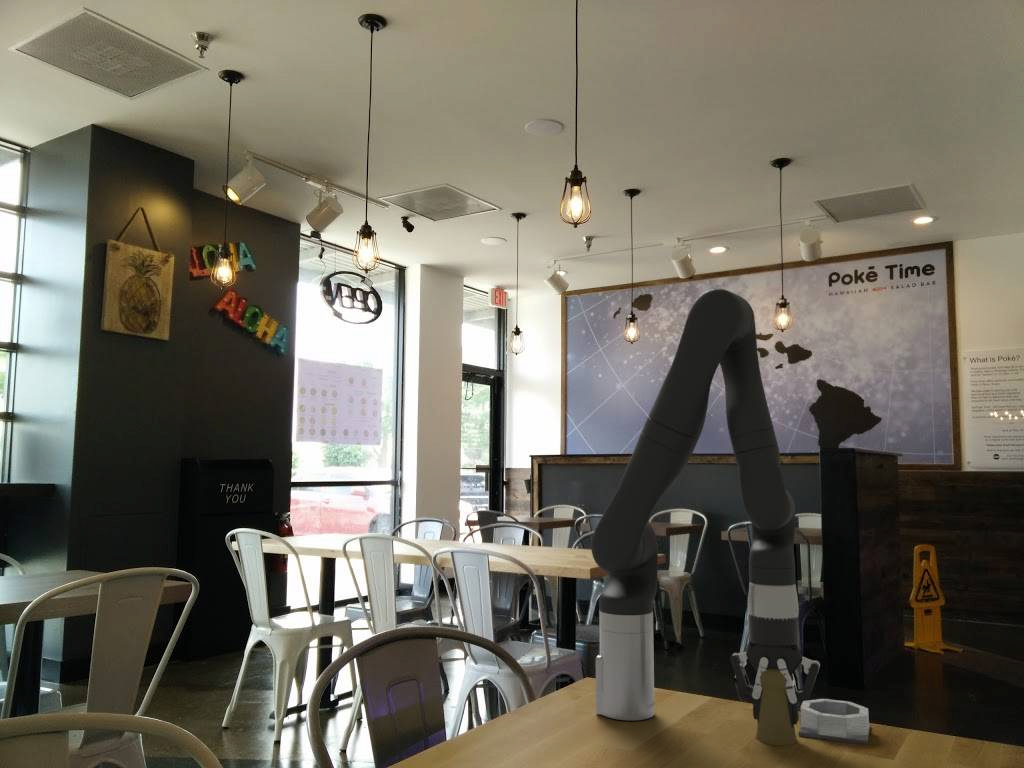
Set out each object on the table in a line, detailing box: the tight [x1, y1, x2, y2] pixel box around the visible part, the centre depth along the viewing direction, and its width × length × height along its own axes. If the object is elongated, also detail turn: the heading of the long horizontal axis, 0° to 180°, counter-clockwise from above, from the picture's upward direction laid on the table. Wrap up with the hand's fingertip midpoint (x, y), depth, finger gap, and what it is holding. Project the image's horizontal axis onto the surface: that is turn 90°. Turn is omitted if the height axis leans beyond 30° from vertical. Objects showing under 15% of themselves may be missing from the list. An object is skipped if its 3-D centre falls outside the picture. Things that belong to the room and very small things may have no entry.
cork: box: [755, 668, 797, 746], centre depth 132 cm, size 6×6×11 cm
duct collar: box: [798, 698, 871, 746], centre depth 136 cm, size 10×10×4 cm
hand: (776, 724), depth 132 cm, fingers closed on cork, 4 cm apart
